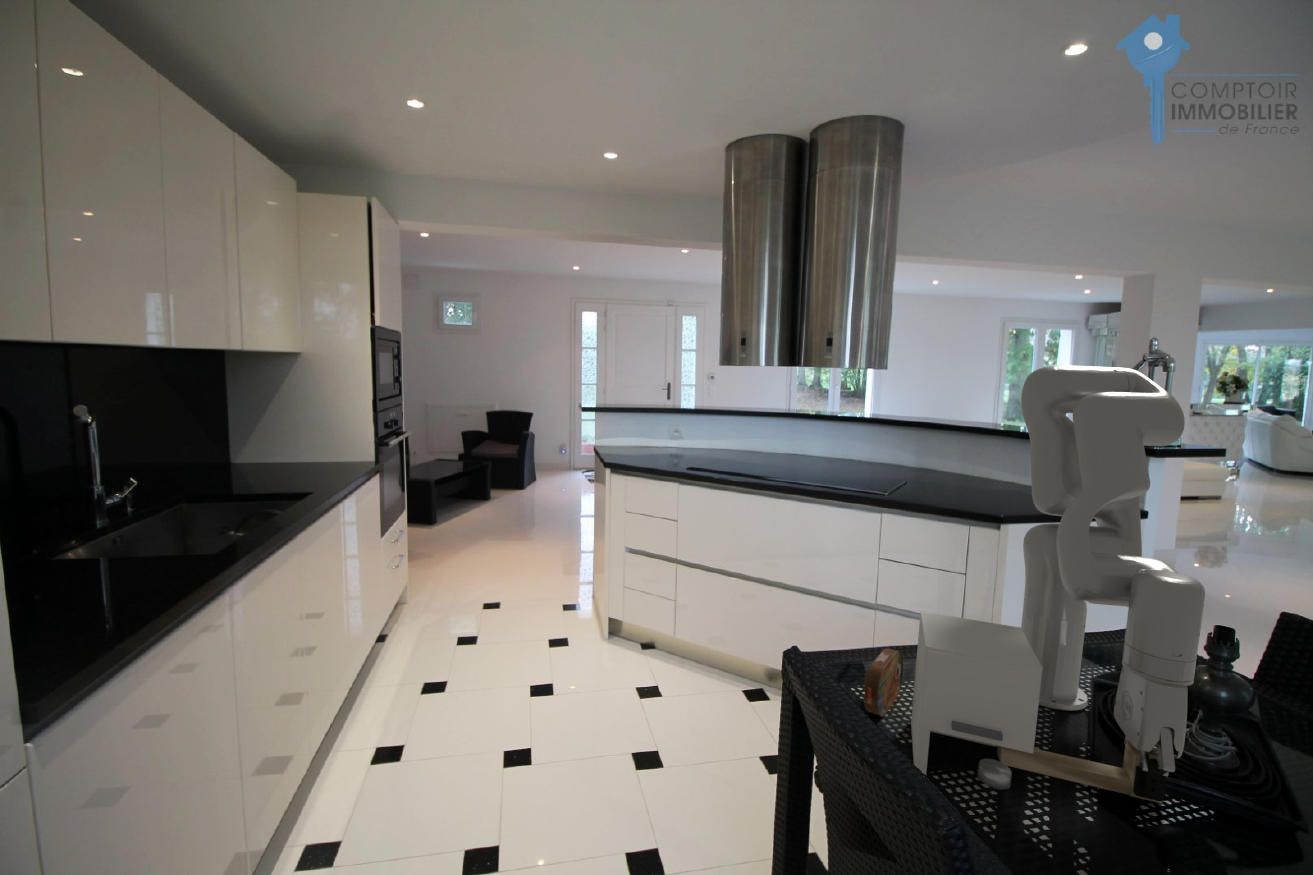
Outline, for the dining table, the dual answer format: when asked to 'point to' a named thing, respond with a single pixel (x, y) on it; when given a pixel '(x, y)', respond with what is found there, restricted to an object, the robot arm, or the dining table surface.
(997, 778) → the puck
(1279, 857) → the dining table surface
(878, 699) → the tin
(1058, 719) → the dining table surface
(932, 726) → the cabinet
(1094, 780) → the wooden l-shaped bar
